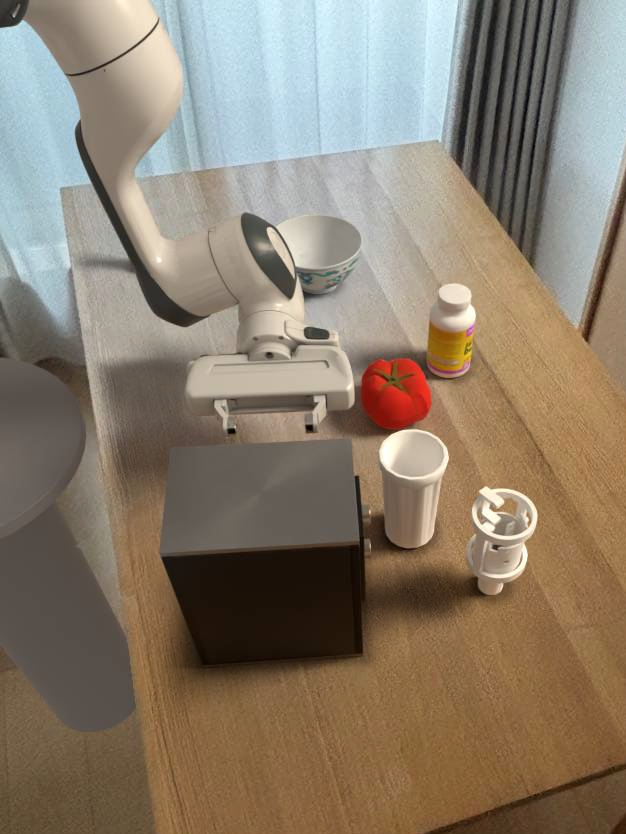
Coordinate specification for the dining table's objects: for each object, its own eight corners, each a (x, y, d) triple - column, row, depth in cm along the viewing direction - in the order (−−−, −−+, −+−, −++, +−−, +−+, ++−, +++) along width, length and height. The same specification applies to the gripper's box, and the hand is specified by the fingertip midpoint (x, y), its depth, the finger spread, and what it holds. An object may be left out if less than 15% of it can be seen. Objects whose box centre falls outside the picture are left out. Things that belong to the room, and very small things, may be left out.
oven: (203, 667, 88) (158, 553, 71) (208, 572, 96) (170, 447, 78) (376, 655, 90) (375, 539, 72) (368, 562, 98) (366, 437, 80)
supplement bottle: (466, 383, 118) (475, 311, 107) (422, 376, 118) (427, 304, 108) (472, 354, 121) (481, 282, 111) (430, 348, 122) (434, 276, 112)
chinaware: (347, 249, 137) (345, 207, 131) (375, 299, 129) (375, 257, 123) (262, 265, 134) (257, 223, 128) (286, 318, 125) (281, 276, 119)
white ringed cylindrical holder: (489, 551, 99) (504, 471, 87) (531, 586, 96) (552, 508, 84) (449, 582, 96) (459, 504, 84) (491, 619, 93) (508, 544, 81)
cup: (396, 497, 104) (398, 419, 92) (451, 520, 102) (460, 443, 90) (366, 540, 100) (364, 464, 88) (423, 565, 97) (429, 490, 86)
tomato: (417, 379, 118) (419, 344, 112) (436, 431, 111) (439, 396, 106) (353, 389, 116) (352, 354, 111) (369, 442, 110) (368, 407, 105)
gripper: (183, 336, 97) (174, 416, 89) (350, 330, 98) (356, 408, 90) (192, 376, 102) (185, 454, 94) (351, 369, 104) (357, 446, 95)
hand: (270, 431), depth 92 cm, fingers open, 8 cm apart
